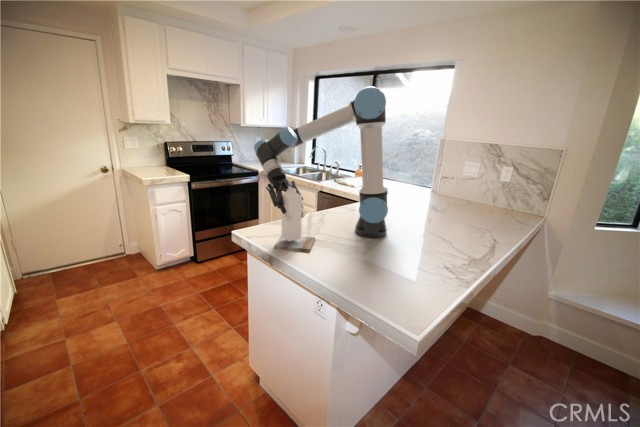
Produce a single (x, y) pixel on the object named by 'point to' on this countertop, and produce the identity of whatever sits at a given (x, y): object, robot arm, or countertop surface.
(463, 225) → the countertop surface
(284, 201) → the milk
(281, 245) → the board
